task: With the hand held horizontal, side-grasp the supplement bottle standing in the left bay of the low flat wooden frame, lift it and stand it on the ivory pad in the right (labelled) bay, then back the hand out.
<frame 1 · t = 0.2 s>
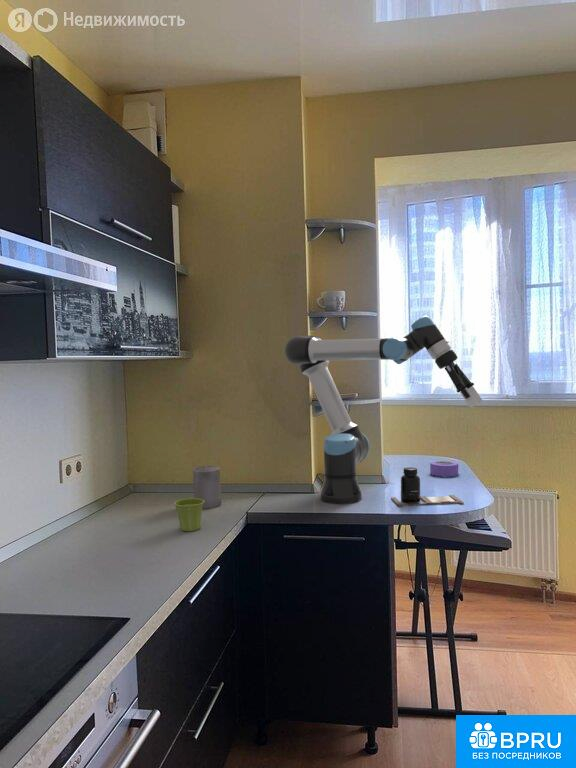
hand: (477, 404, 205), 34 cm above the table, tool tilted 35°, fingers open, 13 cm apart
flat wooden frame: (425, 500, 208), on the table
pillar candle: (207, 506, 212), on the table
tape roll: (444, 474, 252), on the table
plant pot: (190, 529, 184), on the table
supplement bottle: (410, 502, 208), on the table
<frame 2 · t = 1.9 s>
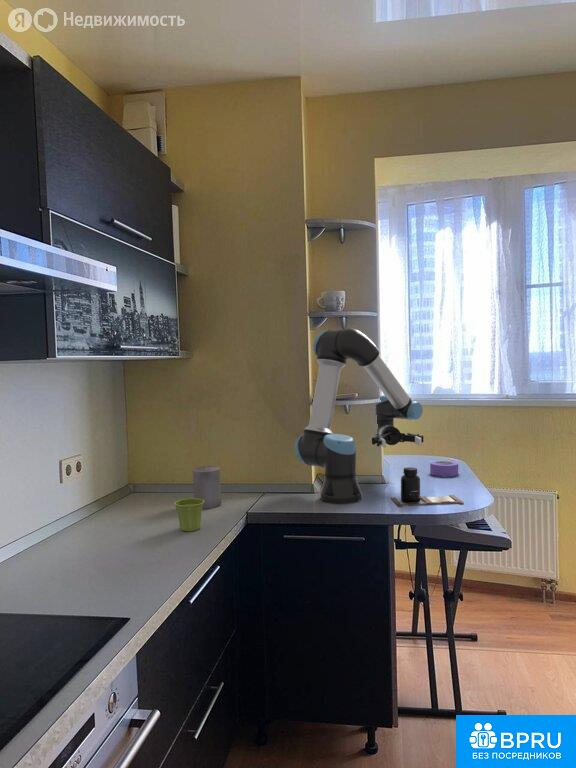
hand: (402, 443, 218), 19 cm above the table, tool horizontal, fingers open, 13 cm apart
nothing on the table moved.
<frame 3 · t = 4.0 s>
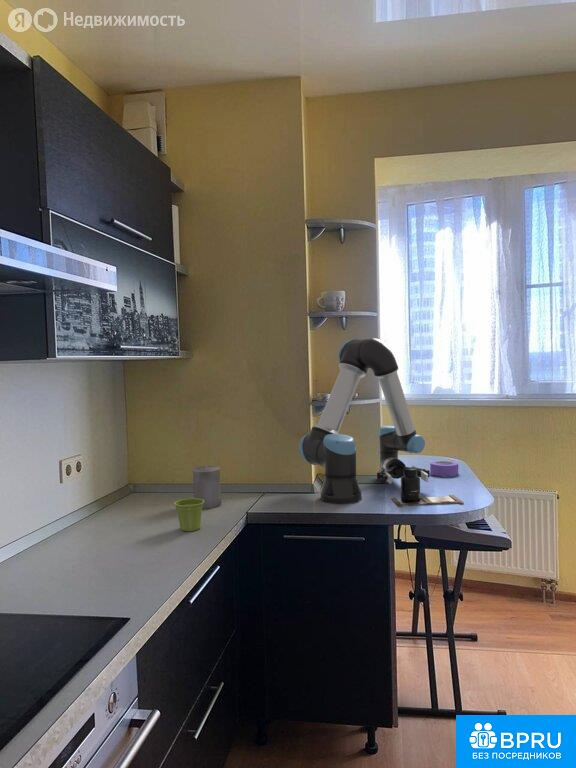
hand: (408, 479, 213), 7 cm above the table, tool horizontal, fingers open, 13 cm apart
nothing on the table moved.
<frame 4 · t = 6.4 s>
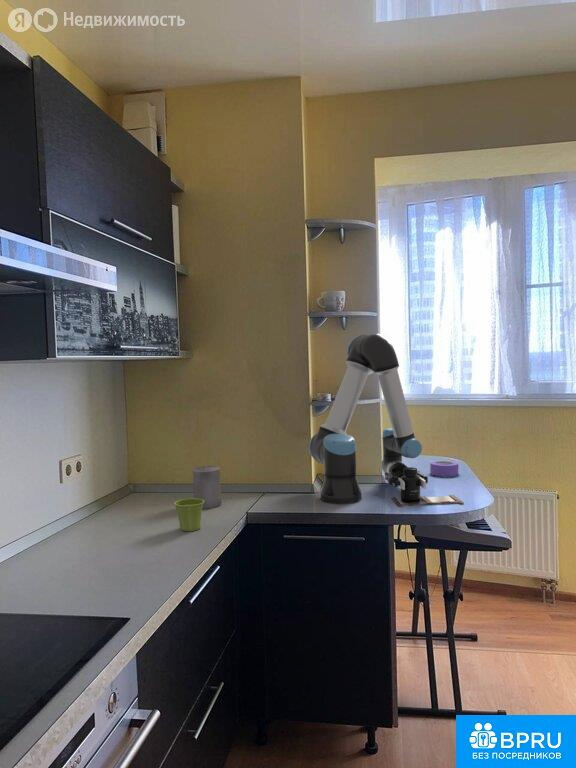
hand: (414, 485, 203), 7 cm above the table, tool horizontal, fingers closed on supplement bottle, 7 cm apart
supplement bottle: (410, 502, 208), on the table, touching gripper
everything else where it was.
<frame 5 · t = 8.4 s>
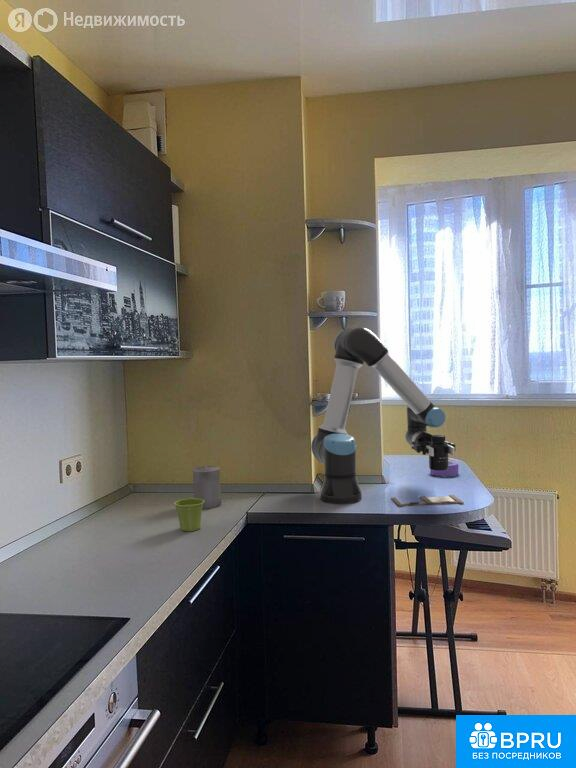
hand: (443, 451, 203), 18 cm above the table, tool horizontal, fingers closed on supplement bottle, 7 cm apart
supplement bottle: (438, 469, 208), point 11 cm above the table, touching gripper
everything else where it was.
when the fingers open (9 cm above the table, at t = 10.6 s): supplement bottle drops 1 cm, resting on flat wooden frame.
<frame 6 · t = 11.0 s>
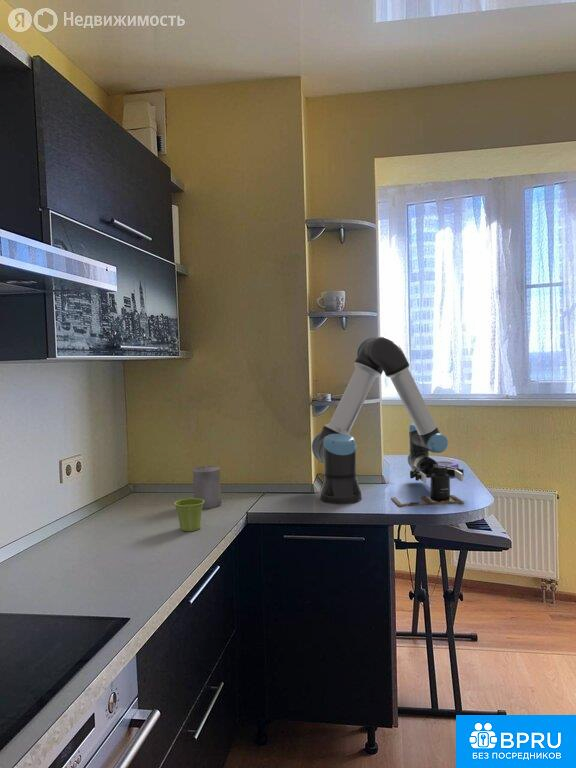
hand: (443, 478, 205), 9 cm above the table, tool horizontal, fingers open, 12 cm apart
supplement bottle: (440, 500, 209), resting on flat wooden frame
everything else where it was.
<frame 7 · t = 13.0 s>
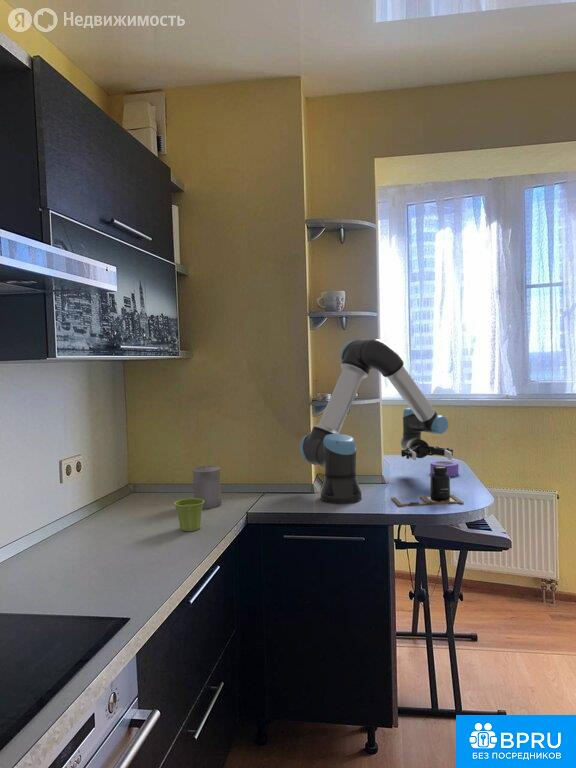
hand: (433, 456, 218), 14 cm above the table, tool horizontal, fingers open, 13 cm apart
nothing on the table moved.
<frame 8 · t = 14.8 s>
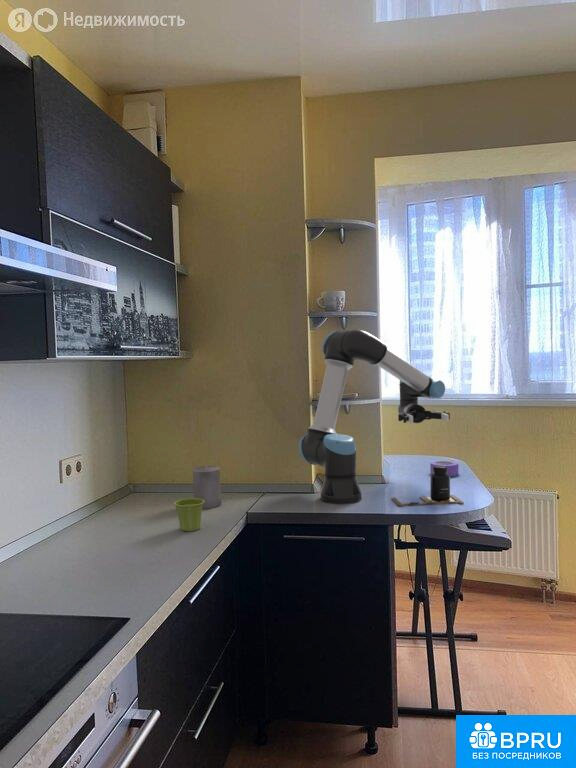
hand: (430, 419, 219), 28 cm above the table, tool horizontal, fingers open, 13 cm apart
nothing on the table moved.
at the end: supplement bottle inside the target area (0.2 cm from its centre), resting on flat wooden frame; supplement bottle tilted 0°; the gripper is holding nothing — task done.
